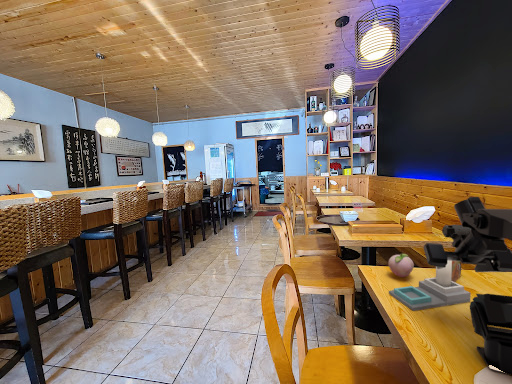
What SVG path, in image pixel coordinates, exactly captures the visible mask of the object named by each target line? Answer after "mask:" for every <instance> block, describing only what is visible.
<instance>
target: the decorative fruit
mask: <svg viewBox="0 0 512 384" xmlns="http://www.w3.org/2000/svg"><path fill="white" fill-rule="evenodd" d="M387 263H388V267H389V269H390V271H391V272H392V273H393V274H395V275H396V276H397V277H400V278H406V277H408V276H409V275H410V274H411V273H412V271H413V269H414V268H415V267H414V266H415V264H414V262H413V260H412V258H410V257H409V255H408V254H406V253H400V254H395V255H394V254H393V255H392V256H391V257H390V258H389V259H388V262H387Z"/></svg>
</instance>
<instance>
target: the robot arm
mask: <svg viewBox="0 0 512 384" xmlns="http://www.w3.org/2000/svg"><path fill="white" fill-rule="evenodd" d="M453 207H454V210H455V213H456V215H457V217H458V219H459V222H460V223H461V224H451V225H450V224H449V225H448V224H445V225H444V226H443V227H442V229H441V233H442V235H443V236H444V237H445V238H449V239H452V243H451V245H452V247H453V248H454V249H455V250H454V251H447V250H446V251H445V248H444V245H443V244H442V243H434V242H426V243H425V244H424V245H423V251H424V255H425V259H426V262H427V263H428V265H430V266H433V267H436V266H437V269H441V268H444V267H446V266H445V265H447V260H449V261H461V265H464V264H465V265H475V266H474V269H473V270H474V272H476V273H512V250H511V249H510V248H509V247H508V246H507V244H506V242H505V239H506V240H507V239H508V240H510V241H512V208H486V207H485V205H484V203H483V202H482V200H481V198H480V197H479V196H469V197H468V198H467V199H463V200H461V201H458V202H457V203H456V202H455V203H454V206H453ZM475 295H476V296H474V297H473V298H472V301H470V302H469V303H470V304H469V310H470V318H471V323H472V327H473V328H474V329H473V330H474V333H475V334H477V335H479V336H480V337H482V339H483V347H482V346H479V345H478V346H476V350H477V352H478V353H479V355H480V356H481V358H482V360H483V359H484V360H483V361H484V363H485V364H486V366H487V367H488V366H489V365H492V366H494V367H496V368H498V369H499V370H501V371H503V372H505V373H507V374H506V375H508V374H509V376H512V296H511V295H502V294H492V293H475ZM505 373H504V374H505Z"/></svg>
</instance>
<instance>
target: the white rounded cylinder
mask: <svg viewBox="0 0 512 384" xmlns="http://www.w3.org/2000/svg"><path fill="white" fill-rule="evenodd" d="M445 266H446V267H444V268H441V269H437V266H435V277H436V284H438V285H440V286H442V287H444V288H446V287H451V274H452V261H449V260H447V265H445Z"/></svg>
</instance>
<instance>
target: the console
mask: <svg viewBox="0 0 512 384" xmlns="http://www.w3.org/2000/svg"><path fill="white" fill-rule="evenodd" d="M388 294H389V295H390V296H391V297H393V298H394V299H395V300H398V302H400V303H402V304H403V305H404V306H405V307H406V308H408V309H410V310H411V311H413V312H414V311H415V312H416V311H420V310H427V309H434V308H439V307H445V306H451V305H452V306H453V305H458V304H459V305H460V304H464V303H471V292H469V291H468V290H465V286H464V285H462V284H460V283H457V282H453V281H451V287H446V288H444V287H442V286H440V285H438V284H436V276H435V277H428V278H424V280H419V281H418V286H413V285H410V286H403V287H396V288H393V289H392V290H388Z"/></svg>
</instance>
